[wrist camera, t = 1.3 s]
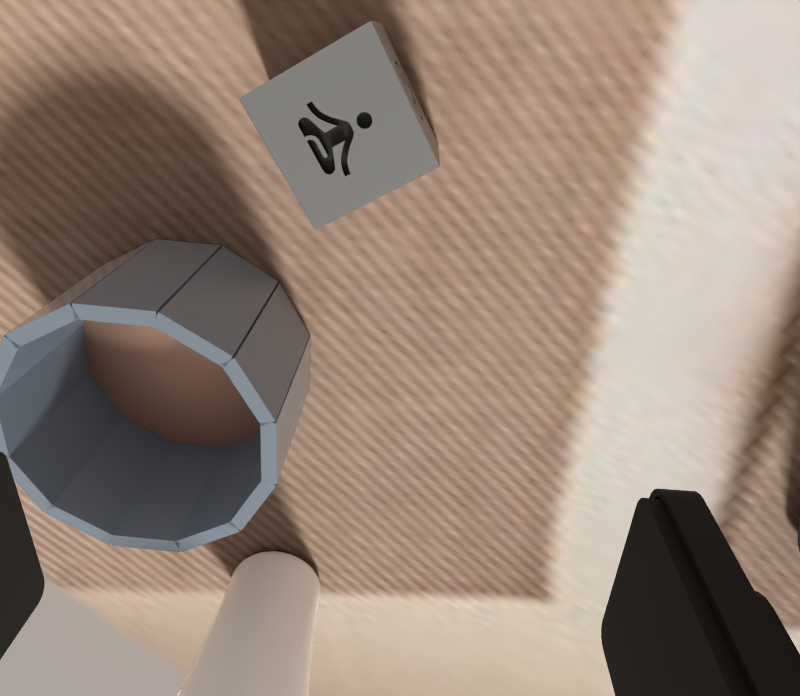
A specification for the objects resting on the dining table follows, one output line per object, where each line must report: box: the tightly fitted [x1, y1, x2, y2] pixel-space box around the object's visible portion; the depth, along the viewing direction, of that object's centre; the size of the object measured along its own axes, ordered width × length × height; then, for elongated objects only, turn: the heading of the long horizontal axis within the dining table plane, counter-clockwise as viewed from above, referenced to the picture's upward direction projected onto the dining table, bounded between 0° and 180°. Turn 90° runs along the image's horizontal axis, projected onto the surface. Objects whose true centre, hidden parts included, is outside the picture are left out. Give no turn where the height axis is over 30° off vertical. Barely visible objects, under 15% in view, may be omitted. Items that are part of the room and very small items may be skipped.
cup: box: [0, 239, 310, 552], centre depth 27 cm, size 11×11×8 cm
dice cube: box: [239, 21, 440, 230], centre depth 23 cm, size 5×5×5 cm
